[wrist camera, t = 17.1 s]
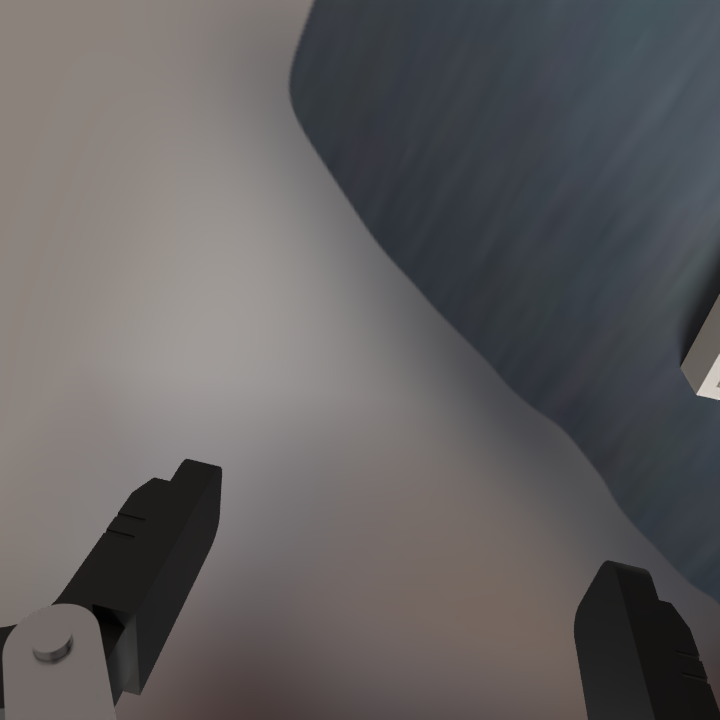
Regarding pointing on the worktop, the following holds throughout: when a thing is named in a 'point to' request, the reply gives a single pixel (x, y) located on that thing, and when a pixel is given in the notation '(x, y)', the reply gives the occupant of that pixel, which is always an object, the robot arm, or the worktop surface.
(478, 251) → the worktop surface
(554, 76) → the worktop surface
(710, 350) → the plastic tray
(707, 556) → the worktop surface
